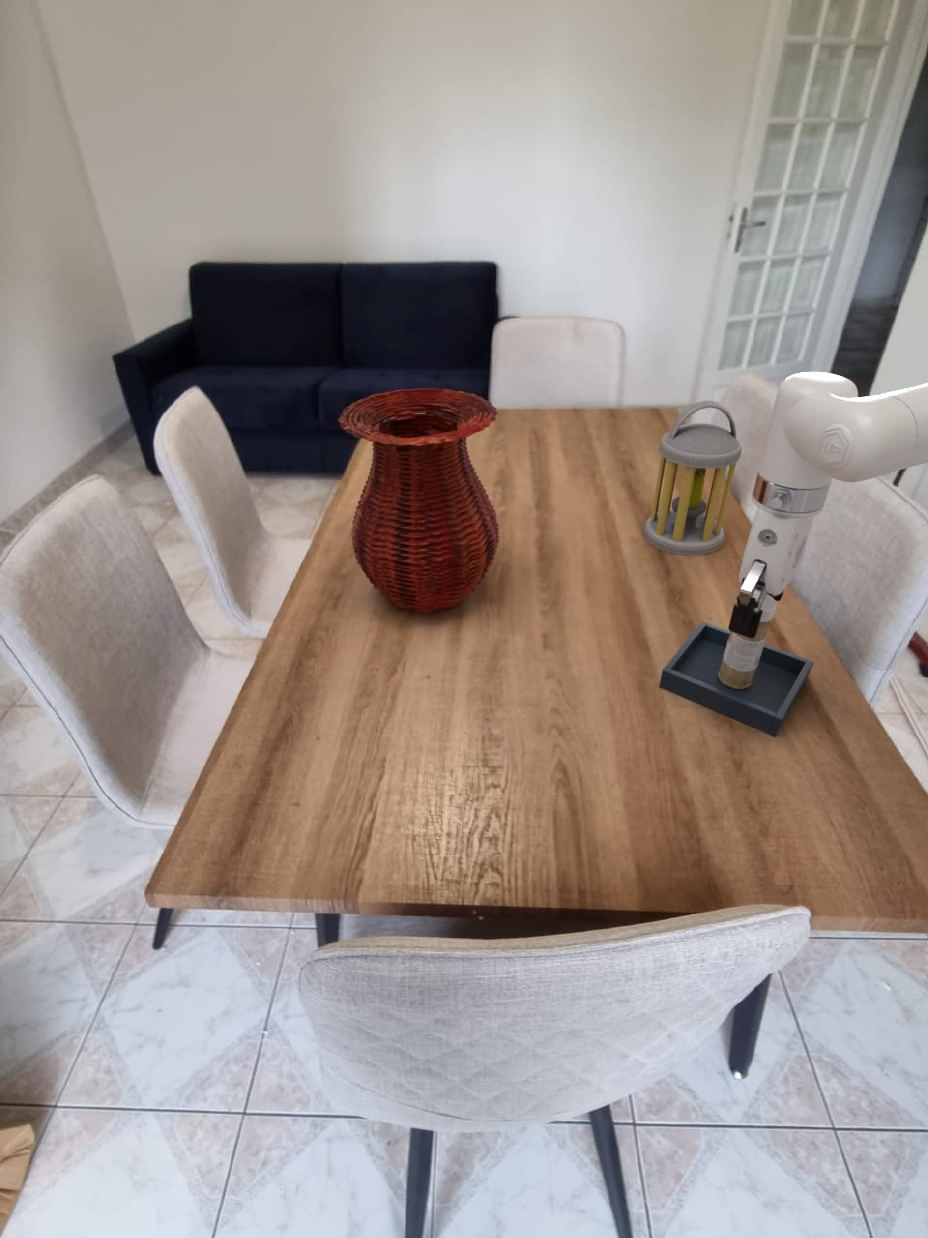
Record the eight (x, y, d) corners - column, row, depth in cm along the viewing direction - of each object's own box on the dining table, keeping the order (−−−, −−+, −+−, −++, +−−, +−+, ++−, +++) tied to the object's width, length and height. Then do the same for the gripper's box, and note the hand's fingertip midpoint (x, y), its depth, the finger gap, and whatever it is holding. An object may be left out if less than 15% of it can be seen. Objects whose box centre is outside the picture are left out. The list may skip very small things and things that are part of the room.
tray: (807, 678, 93) (813, 661, 91) (775, 737, 84) (781, 719, 83) (698, 637, 101) (702, 620, 99) (659, 687, 92) (662, 669, 90)
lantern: (711, 517, 130) (740, 387, 115) (732, 555, 119) (767, 416, 104) (637, 517, 131) (656, 388, 116) (651, 555, 120) (674, 417, 105)
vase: (350, 563, 120) (326, 394, 102) (478, 544, 124) (476, 379, 106) (368, 642, 102) (343, 453, 84) (517, 616, 106) (523, 432, 88)
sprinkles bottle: (729, 664, 95) (752, 585, 87) (759, 681, 92) (785, 600, 84) (710, 678, 93) (731, 598, 84) (740, 696, 90) (764, 614, 82)
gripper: (801, 530, 68) (762, 661, 78) (846, 471, 79) (806, 593, 89) (728, 511, 72) (699, 637, 82) (780, 457, 83) (749, 575, 93)
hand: (755, 614), depth 85 cm, fingers open, 9 cm apart
